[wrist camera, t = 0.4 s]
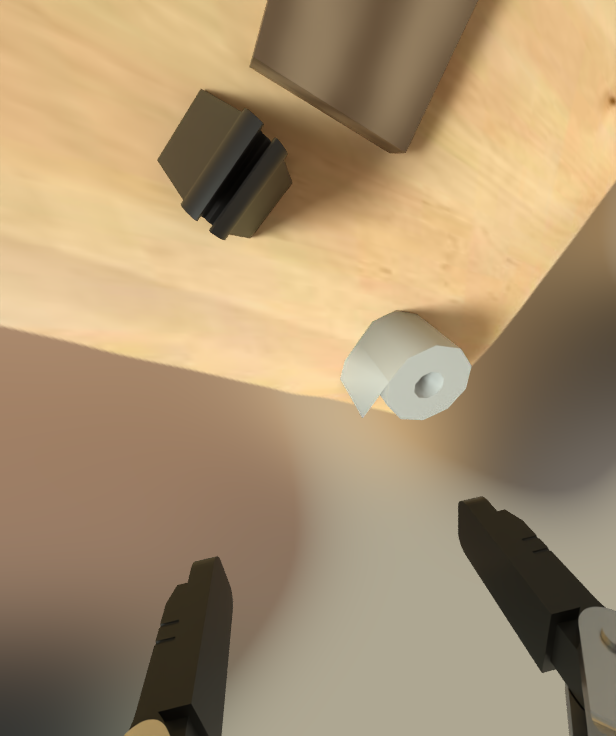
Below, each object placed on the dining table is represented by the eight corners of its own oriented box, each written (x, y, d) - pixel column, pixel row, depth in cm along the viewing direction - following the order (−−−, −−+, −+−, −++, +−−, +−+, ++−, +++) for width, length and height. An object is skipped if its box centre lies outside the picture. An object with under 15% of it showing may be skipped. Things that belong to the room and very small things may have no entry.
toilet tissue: (326, 386, 42) (348, 432, 35) (389, 297, 37) (430, 330, 30) (378, 406, 46) (407, 452, 39) (441, 329, 41) (487, 364, 34)
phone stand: (291, 182, 29) (330, 196, 19) (249, 237, 30) (265, 277, 21) (201, 88, 24) (191, 43, 14) (157, 159, 26) (121, 161, 16)
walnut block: (249, 67, 24) (253, 56, 22) (322, -208, 19) (338, -262, 16) (389, 152, 29) (405, 152, 27) (479, -43, 24) (509, -66, 21)
